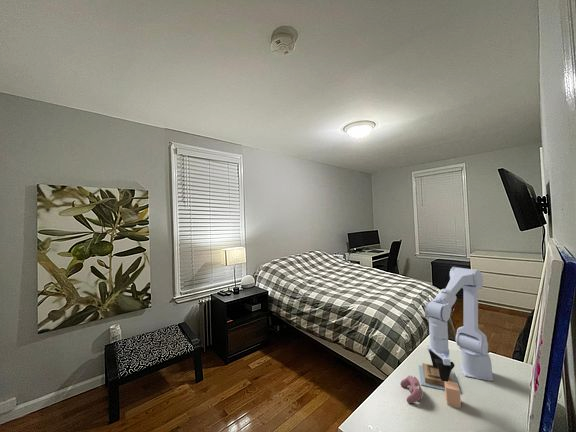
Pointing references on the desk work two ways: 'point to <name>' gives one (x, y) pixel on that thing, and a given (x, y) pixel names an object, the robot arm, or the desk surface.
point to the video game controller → (412, 388)
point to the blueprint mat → (432, 384)
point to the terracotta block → (452, 394)
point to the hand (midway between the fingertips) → (440, 373)
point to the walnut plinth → (433, 375)
